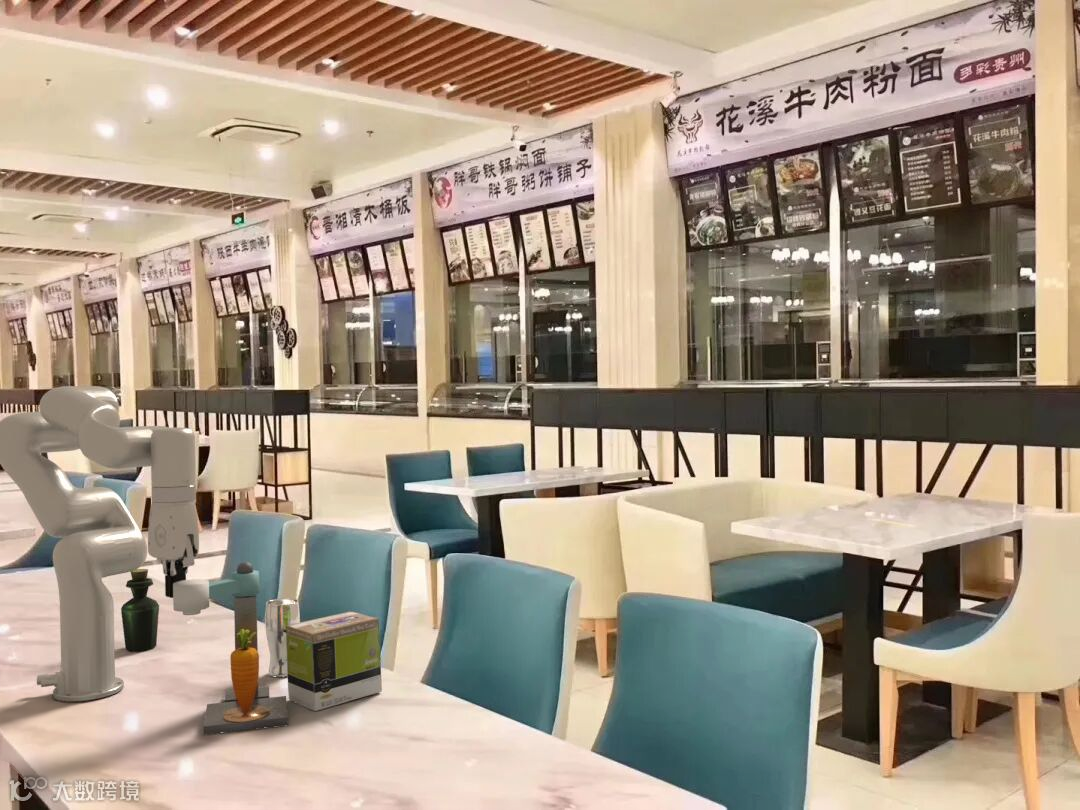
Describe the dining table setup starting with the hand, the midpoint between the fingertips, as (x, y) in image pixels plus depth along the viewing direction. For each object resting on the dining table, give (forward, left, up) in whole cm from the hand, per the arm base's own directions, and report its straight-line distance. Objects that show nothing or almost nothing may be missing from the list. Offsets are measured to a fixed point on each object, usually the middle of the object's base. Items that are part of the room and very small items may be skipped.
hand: (175, 595), depth 169 cm
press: (+12, -3, -22) cm, 25 cm away
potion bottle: (-12, +50, -22) cm, 56 cm away
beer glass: (+19, +19, -22) cm, 35 cm away
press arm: (+7, -1, -2) cm, 8 cm away
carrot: (+12, -8, -20) cm, 25 cm away
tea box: (+28, +1, -22) cm, 36 cm away
